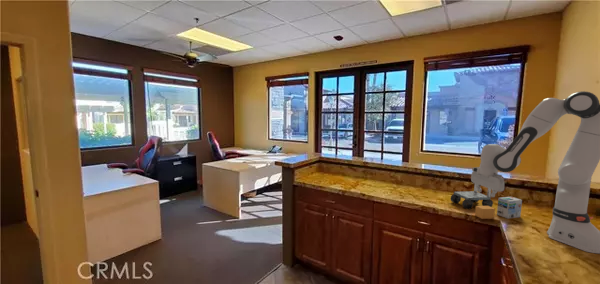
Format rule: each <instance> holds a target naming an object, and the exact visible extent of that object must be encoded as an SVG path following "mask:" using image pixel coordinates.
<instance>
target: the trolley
mask: <svg viewBox="0 0 600 284" xmlns="http://www.w3.org/2000/svg"><path fill="white" fill-rule="evenodd" d="M473 187H474V188H473V191H472V190H471V191H469V190H468V191H453V194H451V196H450V201H451V202H452V203H454V204H459V203H460V202H461V200H462V199H463V201H462V203H461V205H462V207H463V208H465V209H467V210H471V209H472V208H474V204H476V203H478V202H479V201H481V206H490V207H492V208H493V206H494V202H493V199H491V198H492V197H491V196H490V193H492V189H490V188H487V194H486V195H485V194H483V193H482V192H478V191H477V187H476V183H474V186H473Z"/></svg>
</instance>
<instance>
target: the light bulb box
mask: <svg viewBox="0 0 600 284" xmlns="http://www.w3.org/2000/svg"><path fill="white" fill-rule="evenodd" d="M497 198H498V201H497V208H496V209H497V212H496V215H497V216H500V217H501V218H505V219H515V218H521V216H522V215H521V214H522V206H523V205H522V204H523V199H520V198H517V197H513V196H504V197H497Z"/></svg>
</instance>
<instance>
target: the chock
mask: <svg viewBox="0 0 600 284" xmlns="http://www.w3.org/2000/svg"><path fill="white" fill-rule="evenodd" d="M495 210H496V208H495V207H493V206H492V207H490V206H482V205H475V211H474V212H475V214H474V216H475V217H477V218H480V219H482V220H484V219H486V220H487V219H495V213H496V211H495Z"/></svg>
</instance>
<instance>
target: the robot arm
mask: <svg viewBox="0 0 600 284" xmlns="http://www.w3.org/2000/svg"><path fill="white" fill-rule="evenodd" d="M564 115H572V116H576V117H579V118H580V124H579V126H578V128H577V129H576V133H575V134H574V137H573V138H572V141H571V143H570V145H569V147H568V149H567V151H566V153H565V155H564V157H563V160H562V161H561V164H560V165H559V168H558V170H557V176H558V180H557V181H558V182H557V187H556V194H555V202H554V206H553V207H552V219H551V222H550V226H549V228H548V230H547V231H546V234H547V236H548V238H549V239H551V240H555V241H557V242H559V243H563V244H565V245H567V246H568V245H569V246H571V247H572V248H576V249H579V250H581V251H584V252H586V253H590V254H591V253H593V254H600V230H599V229H598V228H597V227H596V226H595V225H594V224H592V222H591V220H592V219H593V218H594V216H589V214H588V205H589V197H590V191H591V184H592V176H593V174H595V170H596V169H597V167H598V164H599V163H600V100H599V98H598V96H597V95H596V94H594V93H593V92H590V91H585V90H584V91H576V92H574V93H571V94H570V95H569V96H567V97H566V98H564V99H560V98H557V97H556V98H555V97H547V98H544V99H543V100H542V101H540V102H539V103H538V105H536V106H535V108H533V110H532V111H531V112H530V113H529V114H528V115H527V117H526V119H525V121H524V122H523V124H522V126H521V128H520V130H519V132H518V134H517V136H515V138H514V139H513V141H511V143H510V144H509V145H508V147H507V148H504V147H503V146H502V145H500V144H498V143H490V144H486V145H483V147H482V149H481V154H480V164H479V166H475V167H472V172H471V174H470V175H471V178H470V180H471V182H472V183H473V184H475V183H476V187H477V192H478V193H482V188H481V186H482V187H485V188H486V189H488V188H490V189H491V193H490V197H491V198H495V196H496V194H497V193H498V192H503V191H505V178H504V176H503V175H502V174H499V172H502V173H510V172H512V171H514V170H515V169H516V168H517V167H518V166H520V164H521V163H522V158H521V155H522V154H523V152H524V151H525V150H526V149H527V148H528V147H529V145H530V144H531V143H533V142H534V141H535V140H537V139H539V138H541V137H542V136H544V135H545V134H546V133H548V132H549V131H550V130H551V129H552V128H553V127H554V125H555V124H556V123H557V122H558V121H559V120H560V119H561V118H562V117H563V116H564Z"/></svg>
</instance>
